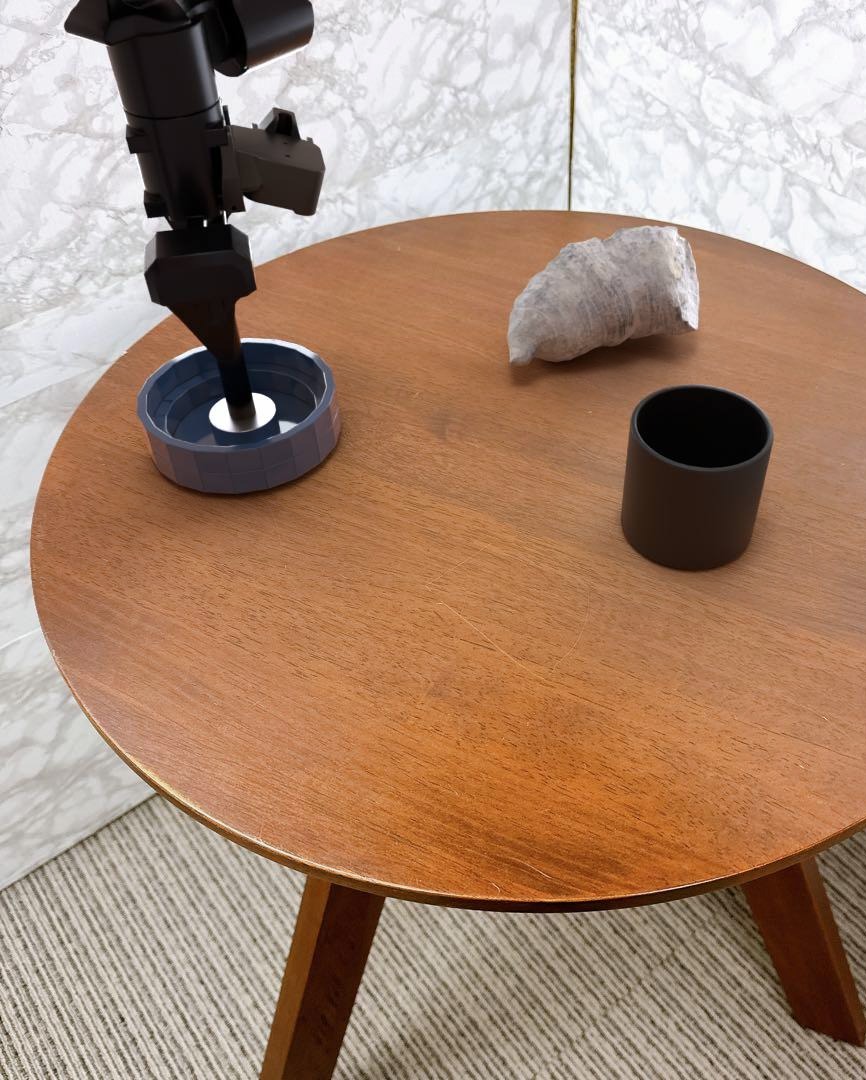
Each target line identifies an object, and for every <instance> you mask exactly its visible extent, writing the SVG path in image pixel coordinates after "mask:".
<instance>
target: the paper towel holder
mask: <svg viewBox="0 0 866 1080" xmlns="http://www.w3.org/2000/svg"><path fill="white" fill-rule="evenodd" d="M236 317H237V316H236V315H235V354H234V359H233V360H229V361H221V362H220V361H218V360H217V359H216V362H217V366H218V370H219V374H220V379H221V383H222V387H223V391H224V395H225V398H224V399H222V400H220V401H219V402H217V403H216V404H215V405H214V406H213V407H212V409H211V410H210V413H209V420H210V424H211V428H212V432H213V436H214V440H215V442H216V443H217V445H218V446H224V447H228V446H235V445H242V444H249V443H256V442H259V441H262V440H265V439H268V438H270V437H273V436H276V435H279V433H280V425H279V420H278V415H277V410H276V406H275V404H274V402H273V401H272V400H271V399H270V398H268V397H266V396H264V395H261V394H257V393H252V390H251V385H250V381H249V376H248V371H247V367H246V362H245V358H244V353H243V349H242V344H241V339H242V338H241V335H240V330H239V326H238V321H237V318H236Z"/></svg>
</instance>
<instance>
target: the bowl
mask: <svg viewBox="0 0 866 1080" xmlns="http://www.w3.org/2000/svg"><path fill="white" fill-rule="evenodd" d="M240 339H241V344H242V349H243V353H244V358H245V362H246V367H247V371H248V376H249V381H250V385H251V390H252V393H257V394H261V395H264V396H266V397H268V398H270V399H271V400H272V401H273V402H274V404H275V406H276V410H277V415H278V420H279V425H280V433H279V435H276V436H273V437H270V438H268V439H265V440H262V441H259V442H256V443H249V444H242V445H235V446H228V447H224V446H218V445H217V443H216V442H215V440H214V436H213V432H212V428H211V424H210V420H209V413H210V410H211V409H212V407H213V406H214V405H215V404H216V403H217V402H219V401H220V400H222V399H224V398H225V395H224V391H223V387H222V383H221V379H220V374H219V370H218V366H217V362H216V358H215V357H214V356H213V355H212V354H211V353H210V352H209V351H208V350H207V348H206V347H205V346H204V345H202V346H197V347H195V348H194V347H193V348H191V349H189V350H188V351H184V353H181V354H180V355H178V356H175V357H174V358H171V359H169V360H168V361H166V362H164V363H163V364H162V365H161V366H160V367H158V369H157V370H155V371H154V372H153V373H152V374H151V375H150V376H148V378H146V380H145V382H144V384H143V386H142V387H141V389H140V391H139V392H138V394H137V397H136V398H137V399H136V415H137V419H138V422H139V425H140V428H141V431H142V434H143V438H144V441H145V444H146V447H147V450H148V453H149V456H150V458H151V459H152V461H153V463H154V465H155V467H156V468H157V470H158V471H159V472H160V473H161V474H163V476H165V477H167V478H168V479H170V480H171V481H173V482H174V483H175V484H177V485H178V486H181V487H184V488H188V489H192V490H196V491H199V492H202V493H209V494H210V493H211V494H231V495H232V494H233V495H235V494H237V495H238V494H245V493H250V492H251V493H252V492H256V491H257V492H258V491H264V490H268V489H272V488H274V487H278V486H280V485H283V484H286V483H288V482H291V481H294V480H297V479H299V478H300V477H302V476H303V475H304V474H306V473H308V472H309V471H310V470H313V469H314V468H315V467H317V466H319V465H320V464H321V463H322V462H323V461H325V459H326V458H327V457H328V455H329V454H330V453H331V452H332V450H334V448H335V447H336V445H337V443H338V439H339V436H340V432H341V429H342V422H341V421H342V420H341V415H340V414H341V413H340V408H339V401H338V394H337V387H336V382H335V376H334V373H333V369H331V367H330V366H329V365H328V364H327V363H326V362H325V360H324V359H323V358H322V357H321V356H320V355H319V354H317V353H315V352H313V351H312V350H309V349H308V348H306V347H305V346H302V345H301V344H297V343H292V342H289V341H284V340H282V339H281V340H280V339H274V338H271V339H270V338H257V337H256V338H254V337H245V338H244V337H243V338H240Z"/></svg>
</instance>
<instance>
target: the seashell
mask: <svg viewBox="0 0 866 1080" xmlns="http://www.w3.org/2000/svg"><path fill="white" fill-rule="evenodd" d="M678 230H679V229H678V227H676V226H670V225H666V226H662V227H660V226H658V225H653V226H652V225H647V224H646V225H643V226H638V227H637V226H636V227H631V228H628V227H627V228H619V229H617V230H616V231H615V232H614V233H612V235H611V236H609V237H607V238H605V239H604V240H603V241H602V239H600V238H598V237H596V236H593V237H591V238H587V239H586V240H584V241H577V242H570V243H568V244H566V246H563V247H562V248H561V249H560V252H559V253H558V254H557V255H556V256H555V257H554V258H553V259H552V260H549V261H548V263H547V264H546V266H545V269H543V270H541V271H539V272H537V273H536V274H535V275H533V276H532V277H531V278H529V280H528V283H527V285H526V286H525V288H524V289H523V290H522V292H521V293H520V294H519V295H517V296H516V298H515V300H514V304H513V306H512V309H511V313H510V314H509V319H508V331H507V334H506V343H507V345H508V349H509V360H508V361H509V364H510V366H512V367H526V366H527V365H529V364H530V363H531V362H532V360H533V359H534V358H535V359H541V360H544V361H546V362H554V363H560V362H565V361H571V360H573V359H575V358H577V357H579V356H581V355H584V354H586V353H588V352H590V351H592V350H593V349H596V348H600V347H611V348H612V347H614V346H618V345H621V344H622V343H623V342H625V341H626V340H627V339H631V340H635V339H636V340H637V339H641V338H645V337H650V336H651V335H660V334H662V335H665V336H667V335H672V336H681V335H685V334H689V333H692V332H695V331H698V329H699V319H700V317H699V308H700V301H701V299H700V283H699V280H698V275H697V265H696V261H695V258H694V255H693V252H692V246H691V244H690V243H689V241H688V240H687V239H686V238H685V237H681V235H680V234H679V233H678V232H679V231H678Z"/></svg>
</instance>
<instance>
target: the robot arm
mask: <svg viewBox="0 0 866 1080" xmlns="http://www.w3.org/2000/svg"><path fill="white" fill-rule="evenodd" d="M314 29H315V13H314V6H313V3H312V2H311V0H78V2H77V3H76V4H75V5H74V7H72V9H71V10H70V11H69V13H68V15H67V17H66V19H65V20H64V23H63V30H64V31H65V32H66V34H68V35H70V36H74V37H77V38H80V39H83V40H87V41H91V42H94V43H97V44H99V45H103V46H105V48H106V52H107V55H108V59H109V63H110V66H111V70H112V74H113V77H114V82H115V86H116V88H117V89H116V90H117V93H118V97H119V101H120V104H121V107H122V111H123V115H124V118H125V122H126V123H125V124H126V125H125V141H126V145H127V148H128V152H129V155H134V156H135V159H136V163H137V164H136V165H137V166H138V171H139V174H140V175H139V176H140V178H141V182H142V186H143V203H142V204H143V207H144V210H145V214H146V219H157V218H164V219H165V220H166V222H167V224H168V225H169V227H170V229H168V230H167V229H166V230H159V231H155V233H154V234H153V236H152V237H151V238H150V239H149V240H148V242H147V243H146V245H145V246H144V248H143V249H144V250H143V252H144V253H143V276H144V280H145V284H146V287H147V291H148V294H149V295H148V296H149V298H150V301H151V303H153V304H156V305H159V306H161V307H164V308H165V307H166V308H167V309H168V310H169V311H170V312H171V313H172V314H173V315H174V316H175V317H176V319H178V320H180V322H181V323H182V324H183V325H184V326H185V327H186V328H187V330H189V331H190V332H191V334H193V336H194V337H195V338H196V339H197V340H198V341H199V342H200V343H201V344H202V346H205V347H206V348H207V350H208V351H209V352H210V353H211V354H212V355H213V356H214V357H215V358H216V359H217V360H218V361H220V362H221V361H229V360H233V359H234V354H235V316H236V304H237V303H238V301H239V300H241V299H243V298H246V297H248V296H250V295H251V294H253V293H254V292H255V291H257V290H258V285H257V276H256V270H255V263H254V257H253V252H252V247H251V242H250V237H249V235H248V234H247V233H245V232H243V231H242V230H241V229H239V228H238V227H236V226H234V225H233V224H232V223H228V221H229V218H230V216H232V214H238V213H246V212H247V208H246V202H245V198H246V199H247V200H249V201H251V202H254V203H257V204H261V205H267V206H271V207H275V208H279V209H284V210H289V211H292V212H293V213H294V214H295V215H298V216H303V217H312V216H314V215H316V213H317V208H318V203H319V200H320V195H321V192H322V188H323V183H324V178H325V174H326V169H327V168H326V164H325V159H324V156H323V152H322V149H321V148H320V146H318V145H317V144H316V143H315V142H314V140H313V139H314V138H313V137H309V136H306V137H305V139H303V138H302V135H301V132H300V128H299V124H298V121H297V117H296V114H295V112H294V111H291V110H287V109H283V108H280V107H275V106H273V107H272V108H271V109H270V110H269V112H267V114H266V115H265V116H264V117H263V119H262V120H261V121H260V122H259V123H254V122H251V124H250V127H247V126H242V125H237V124H232V120H231V119H232V118H231V113H230V108H229V105H228V104H223V99H222V98H221V96H220V92H219V86H218V81H217V77H216V72H217V73H219V74H220V75H223V76H225V77H228V78H239V77H241V76H244V75H246V74H248V73H250V72H253V71H256V70H258V69H260V68H262V67H265V66H267V65H269V64H272V63H274V62H277V61H278V60H281V59H283V58H287V57H288V56H291V55H293V54H295V53H298V52H300V51H303V50H304V49H305V48H306V47H308V45H309V44H310V42H311V40H312V38H313V35H314Z"/></svg>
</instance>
